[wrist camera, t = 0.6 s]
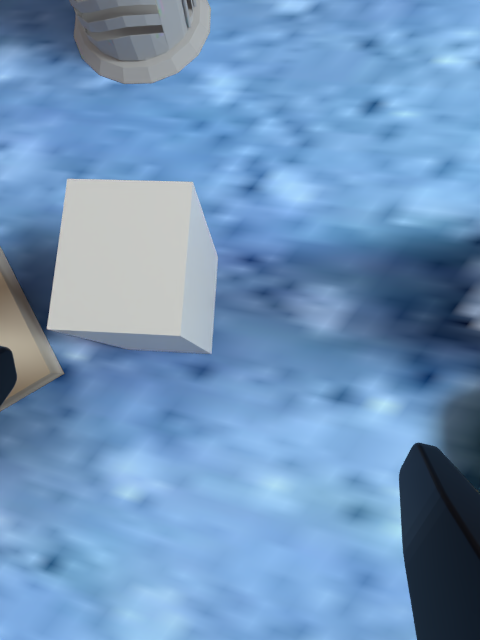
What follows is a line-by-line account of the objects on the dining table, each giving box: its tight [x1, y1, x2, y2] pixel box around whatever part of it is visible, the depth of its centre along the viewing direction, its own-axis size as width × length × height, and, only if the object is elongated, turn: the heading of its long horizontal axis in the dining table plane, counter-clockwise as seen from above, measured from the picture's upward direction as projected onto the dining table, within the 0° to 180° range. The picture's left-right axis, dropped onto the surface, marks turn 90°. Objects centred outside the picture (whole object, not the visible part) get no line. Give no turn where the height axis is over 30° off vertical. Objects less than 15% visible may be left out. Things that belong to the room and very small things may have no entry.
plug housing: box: [47, 179, 218, 354], centre depth 19 cm, size 6×5×9 cm
